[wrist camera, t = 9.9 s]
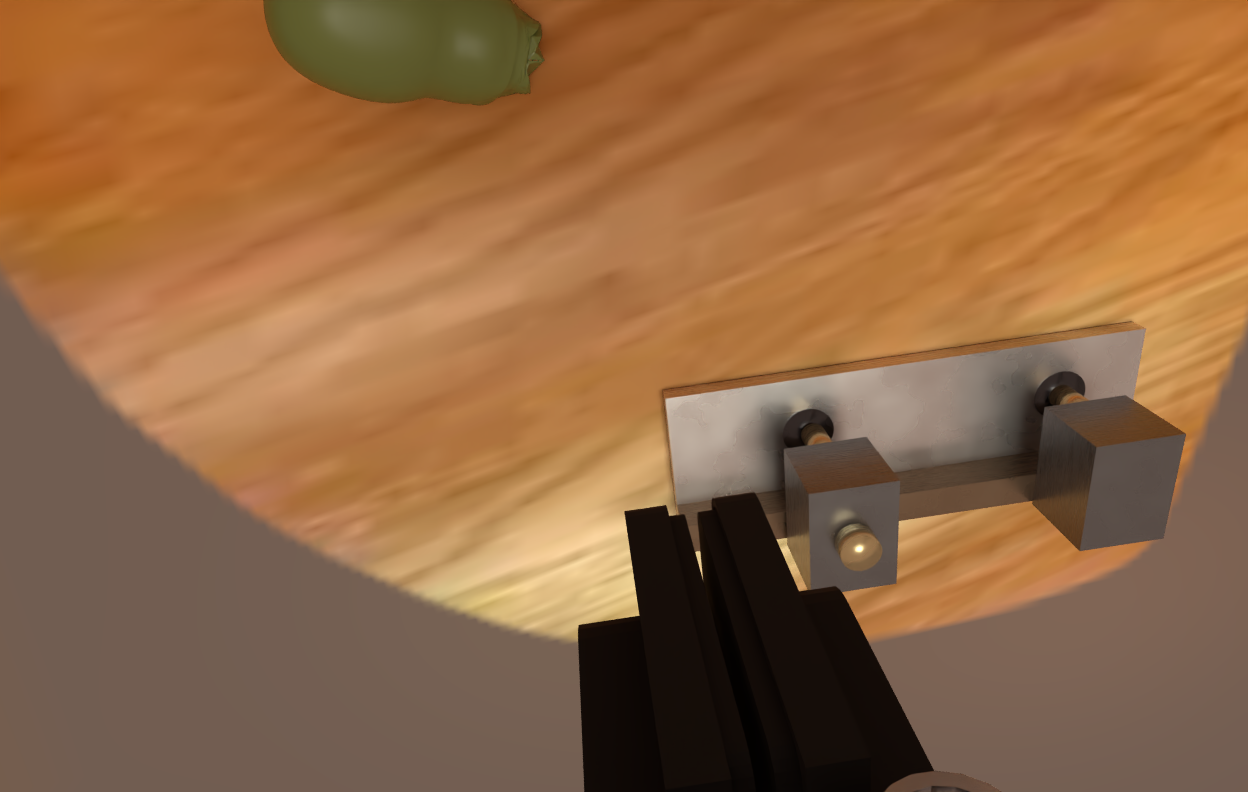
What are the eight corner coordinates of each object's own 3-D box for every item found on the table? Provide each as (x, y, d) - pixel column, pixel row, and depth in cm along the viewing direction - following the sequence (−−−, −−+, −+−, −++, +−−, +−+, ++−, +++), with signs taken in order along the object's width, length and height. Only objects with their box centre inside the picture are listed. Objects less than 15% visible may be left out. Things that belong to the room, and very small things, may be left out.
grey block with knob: (852, 417, 39) (909, 493, 33) (851, 510, 41) (905, 597, 35) (772, 429, 39) (815, 507, 33) (777, 522, 41) (817, 611, 35)
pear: (254, -105, 24) (565, -20, 28) (278, -88, 29) (542, -17, 32) (249, 84, 26) (537, 142, 30) (271, 71, 31) (519, 123, 34)
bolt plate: (1132, 321, 39) (1242, 377, 33) (1108, 457, 43) (1204, 531, 37) (662, 390, 39) (683, 460, 33) (677, 522, 42) (698, 609, 36)
